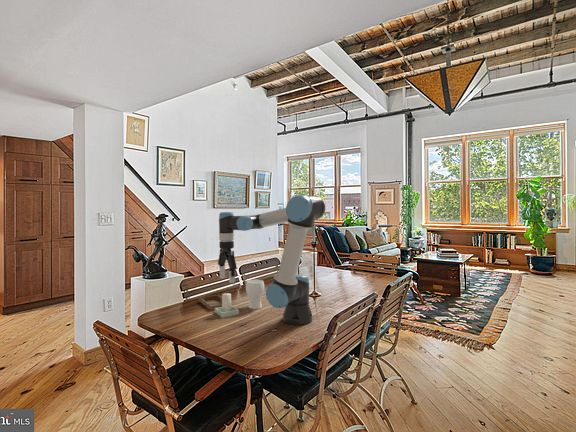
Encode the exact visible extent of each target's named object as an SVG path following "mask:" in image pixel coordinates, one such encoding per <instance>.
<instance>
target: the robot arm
mask: <svg viewBox="0 0 576 432" xmlns="http://www.w3.org/2000/svg"><path fill="white" fill-rule="evenodd" d="M325 213H326V204H325V201H324V199H322V198H321V197H320V196H318V195H307V194H298V195H295V196H294V195H293V197H291V198H290V199H289V200H288V201H287V202H286V205H285V207H282V208H279V209H275V210H271V211H268V212H263V213H259V214H255V215H234V212H233V211H230V212H229V211H220V212H219V216H218V225H219V227H218V228H219V229H218V231H219V232H218V235H219V236H218V240H219V245H218V246H219V248H220V249H219V255H218V256H219V257H218V261H217V265H218V266H219V279H226V261H227V264H228V267H229V270H228V271H229V274H228V276H229V278H228V279H229V284H234V283H236V276H235V275H236V270H237V261H236V257H235V251H234V250H232V249H234V247H235V242H234V236H235V234H234V231H243V232H245V231H251V230H261V229H264V228H267V227H273V226H276V225H281V224H285V223H288V225H289V226H288V227H289V228H288V231H287V236H286V241H285V244H284V248H283V252H282V257H281V259H280V260H281V261H280V264H279V268H278V273H276V274H274V276H273V279H272V283H271V284H269V285H268V286H266V289H265V297H266V300H267V302H268V303H269V305H270V306H272V307H273V308H275V309H283V308H284V310H283V314H282V321H283V322H284V323H286V324H289V325H294V326H295V325H297V326H298V325H301V326H302V325H306V324H309V323H311V322H312V321H313V314H312V311H311V307H310V277H309V276H307V275H303V274H298V271H299V266H300V262H301V258H302V255H303V250H304V246H305V242H306V240H307V236H308V232H309V230H310V229H312V228H313V224H314V221H316V220H319V219H321V218H322V217H323V216H324V214H325Z"/></svg>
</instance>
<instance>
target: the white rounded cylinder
mask: <svg viewBox="0 0 576 432" xmlns="http://www.w3.org/2000/svg"><path fill="white" fill-rule="evenodd" d="M221 297H222V312H228V311H231V305H232V294H231V293H228V292H227V293H225V292H224V293H222V294H221Z"/></svg>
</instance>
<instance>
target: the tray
mask: <svg viewBox="0 0 576 432" xmlns="http://www.w3.org/2000/svg"><path fill="white" fill-rule="evenodd" d="M198 301H199V303H200V304H202V305H203V306H204V307H205V308H207V309H208V310H209V311H211V312H213V311H214V312H215V308H219V307H222V295H219V294H214V295H208V296H202V297H201V296H200V297H199V298H198Z"/></svg>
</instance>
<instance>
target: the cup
mask: <svg viewBox="0 0 576 432" xmlns="http://www.w3.org/2000/svg"><path fill="white" fill-rule="evenodd" d="M245 292H246V295H247V296H248V308H249V309H252V310H259V309H261V308H263V307H262V306H263V305H262V296H263V294H264V292H265V282H264V280H261V279H249V280H246V283H245Z"/></svg>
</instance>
